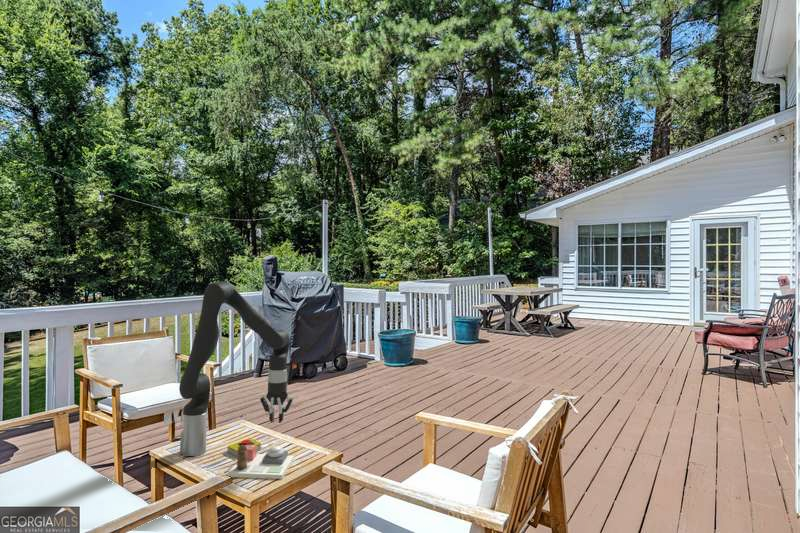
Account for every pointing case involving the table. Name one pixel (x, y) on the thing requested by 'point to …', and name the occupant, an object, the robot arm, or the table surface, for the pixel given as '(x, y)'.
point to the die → (251, 452)
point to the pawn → (242, 457)
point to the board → (264, 467)
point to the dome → (275, 451)
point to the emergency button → (233, 448)
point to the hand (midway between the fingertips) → (276, 421)
